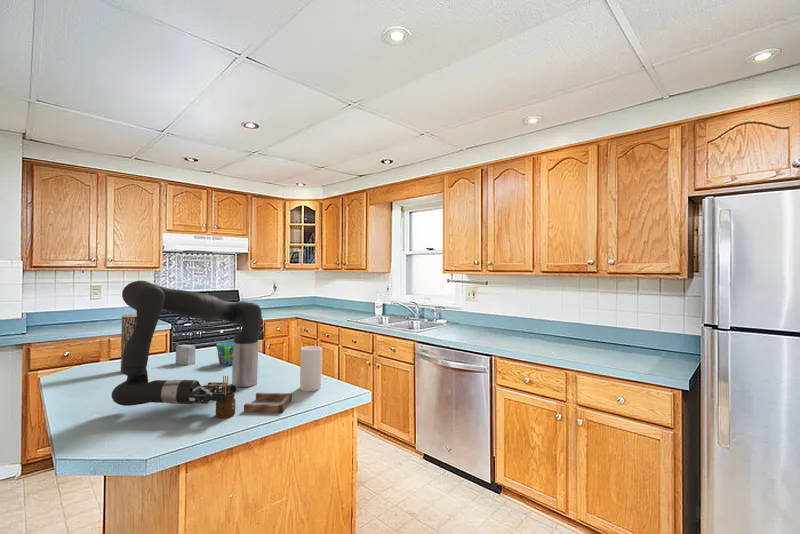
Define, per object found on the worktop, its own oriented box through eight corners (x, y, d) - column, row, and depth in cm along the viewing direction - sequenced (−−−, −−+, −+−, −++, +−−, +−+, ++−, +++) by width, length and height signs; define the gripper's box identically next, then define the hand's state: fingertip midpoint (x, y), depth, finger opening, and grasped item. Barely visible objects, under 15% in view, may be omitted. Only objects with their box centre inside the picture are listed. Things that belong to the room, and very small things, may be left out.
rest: (243, 412, 135) (243, 404, 135) (256, 399, 148) (257, 392, 148) (282, 412, 135) (282, 405, 135) (292, 400, 148) (292, 393, 148)
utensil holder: (216, 419, 128) (216, 381, 128) (214, 413, 134) (215, 376, 133) (236, 416, 131) (237, 379, 131) (234, 410, 136) (235, 374, 136)
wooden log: (126, 369, 183) (127, 313, 183) (142, 369, 184) (143, 314, 184) (117, 373, 176) (118, 315, 176) (133, 373, 177) (134, 316, 177)
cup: (315, 392, 158) (316, 350, 158) (296, 390, 159) (297, 349, 159) (323, 385, 166) (324, 346, 166) (305, 384, 168) (306, 345, 167)
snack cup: (219, 360, 203) (219, 340, 203) (241, 360, 205) (242, 340, 205) (212, 368, 187) (212, 346, 187) (236, 368, 190) (237, 346, 190)
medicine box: (195, 363, 196) (196, 345, 196) (188, 365, 192) (188, 347, 192) (183, 362, 199) (183, 344, 199) (175, 364, 195) (175, 346, 194)
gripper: (169, 386, 125) (222, 388, 125) (192, 374, 139) (239, 375, 139) (168, 411, 125) (221, 412, 125) (191, 396, 139) (239, 397, 139)
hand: (231, 392), depth 132 cm, fingers open, 8 cm apart
